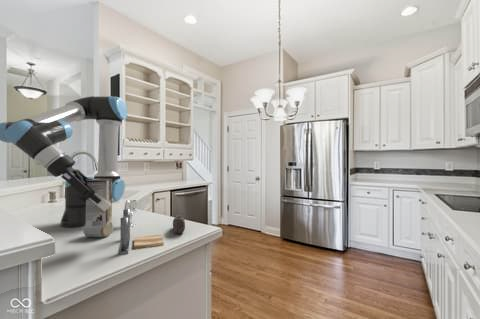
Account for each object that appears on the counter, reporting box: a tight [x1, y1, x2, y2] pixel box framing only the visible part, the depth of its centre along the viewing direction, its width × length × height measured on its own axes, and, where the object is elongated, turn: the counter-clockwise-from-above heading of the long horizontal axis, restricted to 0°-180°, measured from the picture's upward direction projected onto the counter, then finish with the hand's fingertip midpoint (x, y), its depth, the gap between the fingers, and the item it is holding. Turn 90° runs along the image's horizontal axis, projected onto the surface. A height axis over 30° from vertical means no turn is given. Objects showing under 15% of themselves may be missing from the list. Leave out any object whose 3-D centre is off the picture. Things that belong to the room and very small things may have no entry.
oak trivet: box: [133, 234, 165, 250], centre depth 89 cm, size 10×10×1 cm
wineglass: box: [124, 199, 139, 228], centre depth 112 cm, size 6×6×12 cm
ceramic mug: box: [83, 221, 114, 238], centre depth 97 cm, size 11×8×8 cm
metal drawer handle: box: [119, 208, 131, 256], centre depth 85 cm, size 17×2×12 cm, turn 24°
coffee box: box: [86, 178, 113, 228], centre depth 82 cm, size 9×6×16 cm
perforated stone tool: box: [172, 215, 186, 234], centre depth 104 cm, size 15×5×7 cm, turn 15°
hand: (109, 205), depth 83 cm, fingers closed on coffee box, 9 cm apart
